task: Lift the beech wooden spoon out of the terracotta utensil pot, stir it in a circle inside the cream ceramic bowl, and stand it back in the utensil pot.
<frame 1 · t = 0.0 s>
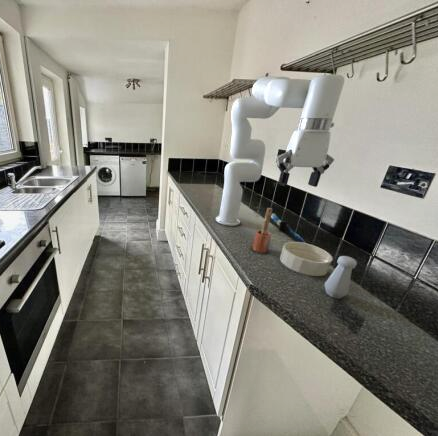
hand: (297, 185, 72), 31 cm above the table, tool pointing down, fingers open, 9 cm apart
bowl: (302, 265, 87), on the table
salt shaker: (333, 294, 72), on the table
wooden spoon: (259, 249, 96), point 1 cm above the table, touching utensil pot
knife: (285, 233, 113), on the table
utensil pot: (259, 250, 96), on the table
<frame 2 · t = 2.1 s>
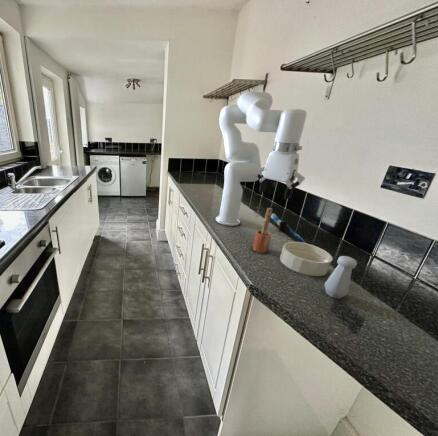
hand: (273, 195, 87), 24 cm above the table, tool pointing down, fingers open, 9 cm apart
nothing on the table moved.
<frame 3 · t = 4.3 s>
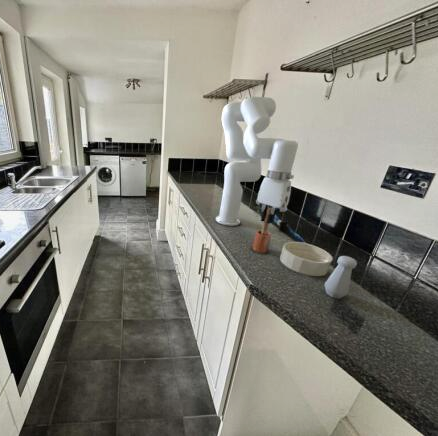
hand: (266, 221, 91), 13 cm above the table, tool pointing down, fingers closed on wooden spoon, 1 cm apart
wooden spoon: (259, 249, 96), point 1 cm above the table, touching gripper, utensil pot
everything else where it was.
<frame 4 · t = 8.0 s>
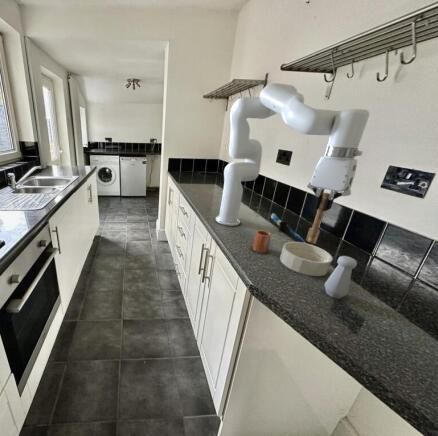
hand: (321, 208, 78), 23 cm above the table, tool pointing down, fingers closed on wooden spoon
wooden spoon: (310, 241, 83), point 10 cm above the table, touching gripper
everything else where it was.
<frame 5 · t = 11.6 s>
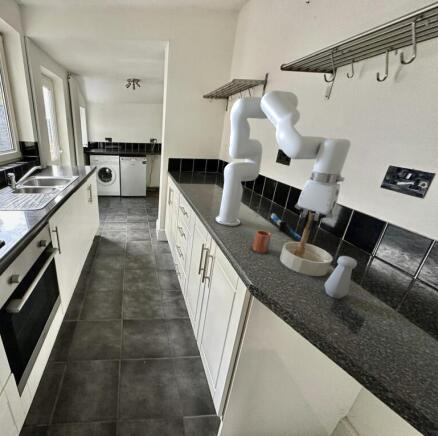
hand: (307, 228, 83), 14 cm above the table, tool pointing down, fingers closed on wooden spoon, 1 cm apart
wooden spoon: (298, 257, 88), point 2 cm above the table, touching gripper
everything else where it was.
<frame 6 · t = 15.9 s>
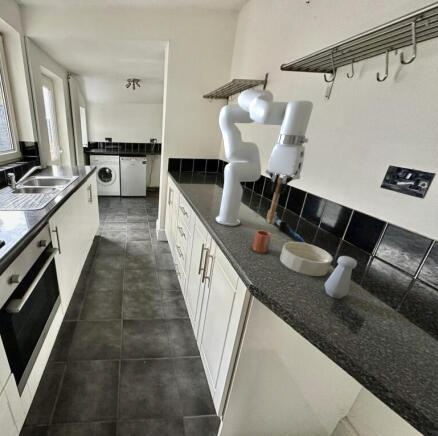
hand: (277, 192, 86), 25 cm above the table, tool pointing down, fingers closed on wooden spoon
wooden spoon: (269, 223, 91), point 13 cm above the table, touching gripper
everything else where it was.
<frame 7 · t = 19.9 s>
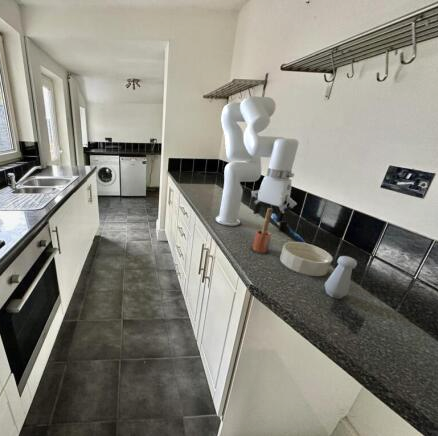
hand: (267, 217, 91), 15 cm above the table, tool pointing down, fingers open, 9 cm apart
wooden spoon: (259, 249, 96), point 1 cm above the table, touching utensil pot
everything else where it was.
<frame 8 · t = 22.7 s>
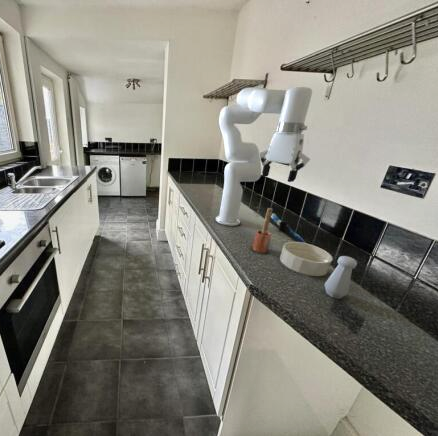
hand: (277, 178, 85), 30 cm above the table, tool pointing down, fingers open, 9 cm apart
nothing on the table moved.
at the end: wooden spoon 0.2 cm off-centre in the utensil pot, point 0.6 cm above the utensil pot's base; wooden spoon tilted 0°; the gripper is holding nothing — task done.
